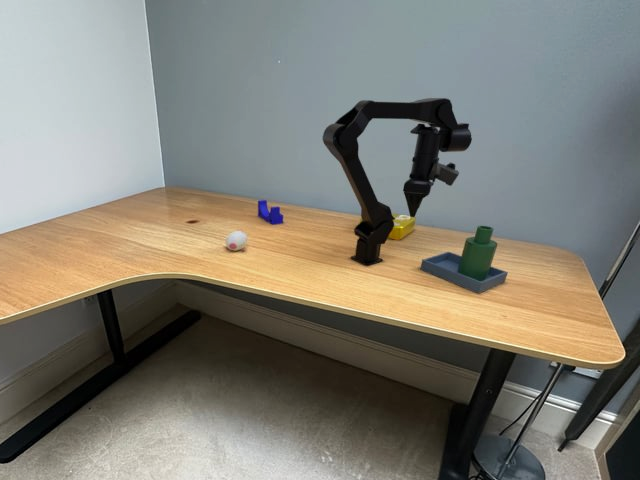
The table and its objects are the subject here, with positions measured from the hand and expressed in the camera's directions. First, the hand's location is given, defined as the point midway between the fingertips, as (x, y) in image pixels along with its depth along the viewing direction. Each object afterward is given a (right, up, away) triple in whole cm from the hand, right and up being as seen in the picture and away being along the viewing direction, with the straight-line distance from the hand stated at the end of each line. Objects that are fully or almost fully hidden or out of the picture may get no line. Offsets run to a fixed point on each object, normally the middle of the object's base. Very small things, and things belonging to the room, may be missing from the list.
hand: (414, 212), depth 102 cm
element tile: (+1, -1, +26) cm, 27 cm away
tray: (+9, -18, -6) cm, 21 cm away
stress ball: (-50, -9, +11) cm, 52 cm away
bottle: (+11, -18, -8) cm, 23 cm away
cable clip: (-39, +5, +38) cm, 54 cm away
